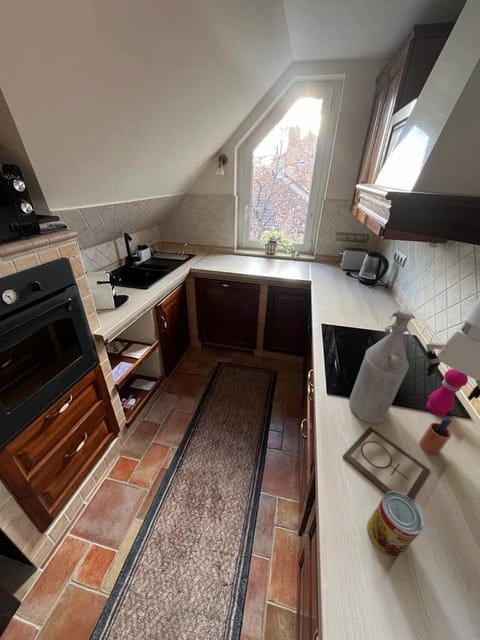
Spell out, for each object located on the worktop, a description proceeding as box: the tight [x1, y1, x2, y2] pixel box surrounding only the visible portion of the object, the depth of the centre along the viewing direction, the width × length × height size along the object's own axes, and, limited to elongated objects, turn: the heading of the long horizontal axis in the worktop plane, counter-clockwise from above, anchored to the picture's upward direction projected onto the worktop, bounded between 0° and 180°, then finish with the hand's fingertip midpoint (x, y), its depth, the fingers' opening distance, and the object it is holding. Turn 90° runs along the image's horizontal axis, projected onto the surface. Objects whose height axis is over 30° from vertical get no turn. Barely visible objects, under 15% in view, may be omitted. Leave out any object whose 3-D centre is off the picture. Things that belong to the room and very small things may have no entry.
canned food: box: [366, 491, 425, 557], centre depth 57 cm, size 8×8×12 cm
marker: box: [435, 416, 452, 436], centre depth 76 cm, size 2×2×13 cm
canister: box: [348, 307, 416, 424], centre depth 82 cm, size 13×17×40 cm
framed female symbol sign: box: [342, 426, 431, 502], centre depth 74 cm, size 18×16×1 cm
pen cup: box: [418, 422, 452, 456], centre depth 77 cm, size 5×5×9 cm
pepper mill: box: [425, 368, 469, 417], centre depth 87 cm, size 7×7×20 cm
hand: (449, 385), depth 67 cm, fingers open, 9 cm apart
